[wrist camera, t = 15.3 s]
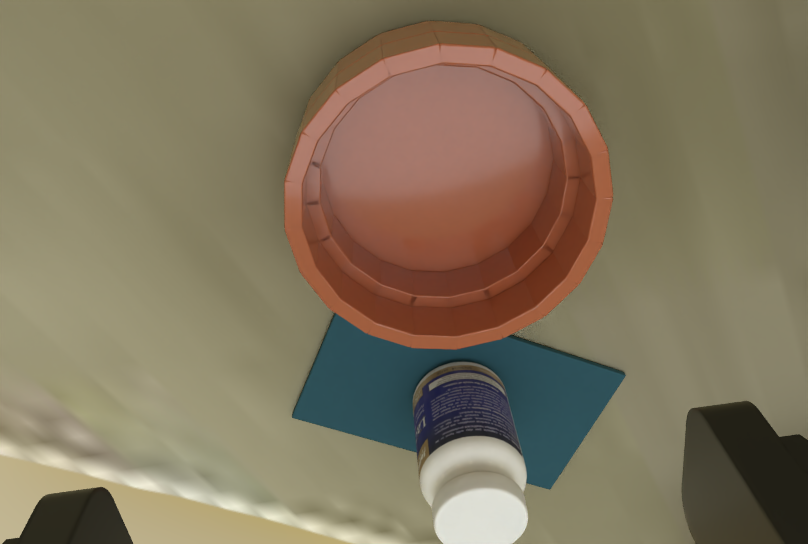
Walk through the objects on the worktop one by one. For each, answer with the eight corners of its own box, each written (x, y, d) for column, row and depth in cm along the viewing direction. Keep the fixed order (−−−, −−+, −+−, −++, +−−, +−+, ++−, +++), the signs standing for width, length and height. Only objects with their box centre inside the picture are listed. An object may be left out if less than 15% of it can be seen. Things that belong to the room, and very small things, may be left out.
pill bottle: (397, 376, 43) (406, 502, 34) (487, 344, 42) (520, 464, 34) (431, 443, 46) (447, 576, 37) (516, 414, 45) (553, 543, 36)
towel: (292, 413, 45) (291, 417, 44) (348, 281, 40) (347, 284, 40) (548, 485, 49) (550, 490, 48) (624, 371, 44) (626, 375, 44)
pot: (260, 240, 39) (243, 296, 34) (354, -31, 33) (352, -14, 28) (502, 320, 42) (521, 383, 37) (629, 87, 36) (675, 122, 31)
